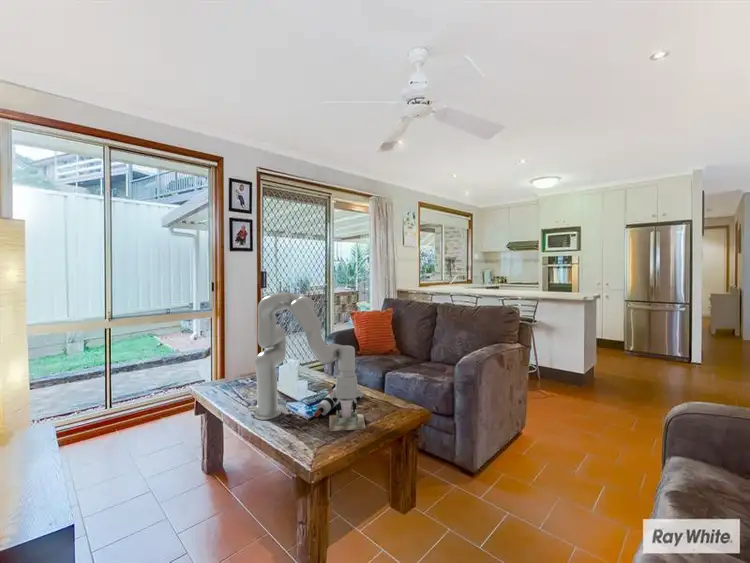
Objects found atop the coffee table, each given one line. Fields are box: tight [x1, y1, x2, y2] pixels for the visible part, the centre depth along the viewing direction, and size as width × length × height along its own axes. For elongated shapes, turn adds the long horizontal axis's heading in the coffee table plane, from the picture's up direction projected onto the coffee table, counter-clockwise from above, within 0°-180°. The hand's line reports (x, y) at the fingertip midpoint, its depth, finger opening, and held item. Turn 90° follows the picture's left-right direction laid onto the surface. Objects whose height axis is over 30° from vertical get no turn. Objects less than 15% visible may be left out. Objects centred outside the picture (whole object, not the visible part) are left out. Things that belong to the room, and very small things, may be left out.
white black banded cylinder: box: [314, 383, 340, 418], centre depth 184 cm, size 10×34×10 cm, turn 158°
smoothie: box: [340, 399, 354, 418], centre depth 164 cm, size 6×6×14 cm
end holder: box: [328, 409, 366, 432], centre depth 164 cm, size 16×13×4 cm
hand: (346, 410), depth 164 cm, fingers closed on smoothie, 6 cm apart
